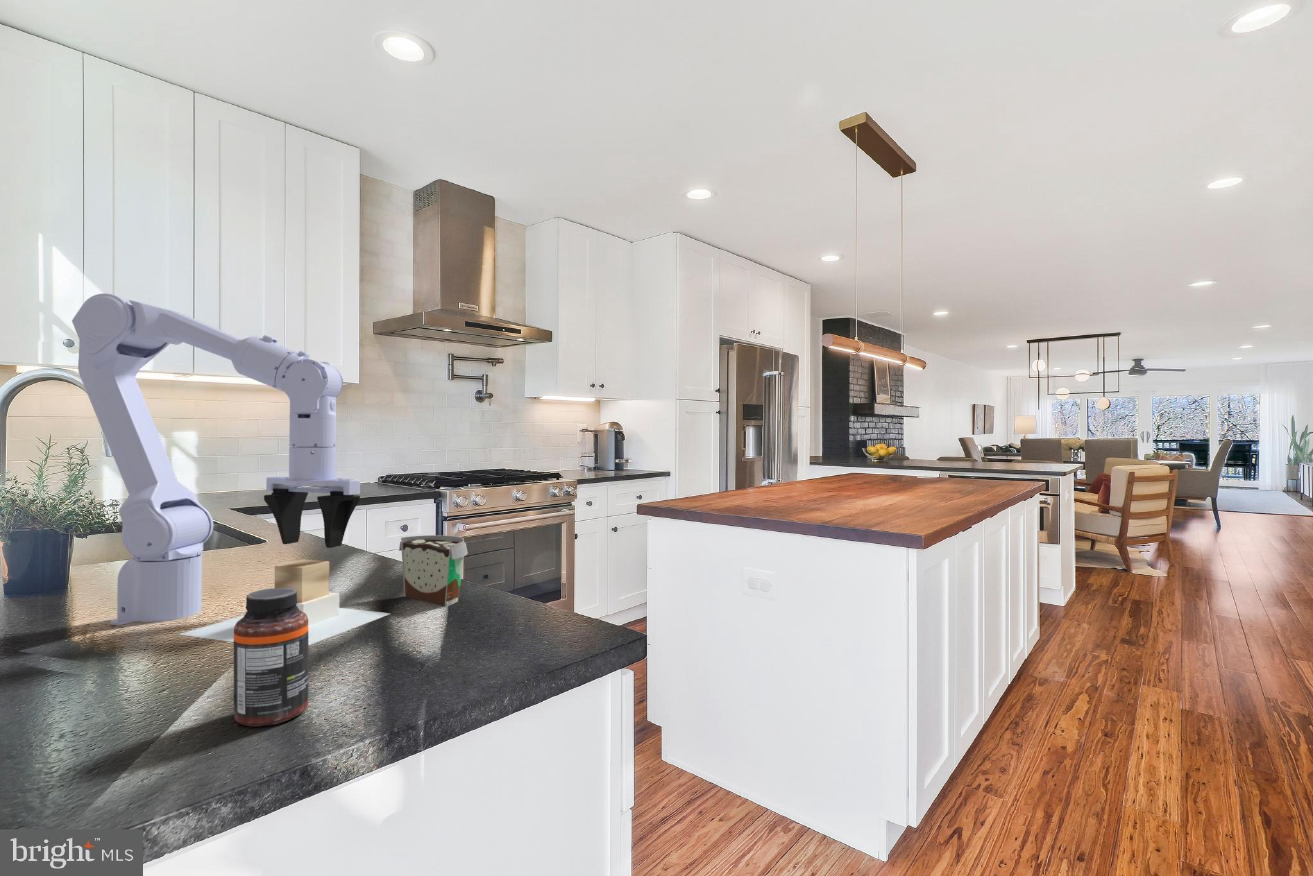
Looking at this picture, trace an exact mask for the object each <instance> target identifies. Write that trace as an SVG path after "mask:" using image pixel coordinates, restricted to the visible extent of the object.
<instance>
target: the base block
mask: <svg viewBox="0 0 1313 876" xmlns="http://www.w3.org/2000/svg"><path fill="white" fill-rule="evenodd" d="M296 605H297V607H298V608H299V610H300V611H303V612H304V613H305V614H306V615H307V617H308V626H310V625H313V624H315V623H318V622H321V621H324V620H327V619H330V618H333V617H336V616H338V615H339V608H340V593H339V592H331V591H329V595H326V596H323V597H320V598H316V599H313V600H310V601H306V602H303V603H299V602H298V603H297V604H296Z"/></svg>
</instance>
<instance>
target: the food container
mask: <svg viewBox="0 0 1313 876" xmlns="http://www.w3.org/2000/svg"><path fill="white" fill-rule="evenodd" d="M398 551H401V561H402V564H401V565H402V579H403V581H402V582H403V596H404V598H408V599H413V600H418V601H423V602H426V603H431V604H434V605H439V606H444V607H448V606H452V605H454V604H455V603H458V601H459V600H460V593H461V591H460V590H461V582H462V581H461V580H462V574H463V573H462V570H463V559H464V557H466V556H467V555H468V554H469V552H468V549H467V543H466V542H465V539H464V538H463V537H460V536H454V535H441V534H438V535H437V534H433V535H432V534H431V535H412V536H405V537H401V538H400V541H399V549H398Z"/></svg>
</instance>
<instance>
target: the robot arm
mask: <svg viewBox="0 0 1313 876" xmlns="http://www.w3.org/2000/svg"><path fill="white" fill-rule="evenodd" d="M71 322H72V325H73V327H74V330H75V332H76V335H77V337H78V340H79V344H78V360H77V362H78V363H77V370H78V374H79V377H80V379H81V382H82V384H83V387H84V389H85V393H86V394H87V397H88V399H89V401H90V403H91V406H92V408H93V411H94V413H95V415H96V418H97V421H98V423H99V425H100V428H101V431H102V433H103V436H104V437H105V439H106V442H107V445H108V447H109V450H110V452H111V455H112V457H113V459H114V462H115V464H116V466H117V469H118V472H119V474H120V476H121V479H122V481H123V484H124V486H125V488H126V490H127V492H128V496H127V498H126V499H125V501H124V502H123V503H122V505H121V506H120V508H119V509H118V513H119V516H120V519H121V523H122V528H121V540H122V541H121V542H122V544H123V545H124V547H125V549H126V551H128V552H129V553H130V554H131V555H132V558H130V559H128V560H127V561H126V562H124V564H123V565H122V566H121V568H120V570H119V571H118V572H119V573H118V575H117V583H116V585H117V586H116V587H117V596H116V597H117V598H116V600H117V602H116V603H117V605H116V606H117V607H116V609H117V610H116V611H117V612H116V616H117V617H116V618H114V619H111V620H109V624H110V625H113V626H120V625H125V624H129V623H133V622H141V623H159V622H169V621H175V620H181V619H184V618H188V617H193V616H195V615H196V616H197V615H198V614H200V613H201V612H202V607H203V606H202V605H203V604H202V602H203V600H202V598H203V597H202V596H203V595H202V592H203V589H202V586H203V584H202V583H203V582H202V581H203V551H204V543H206V542H207V541H208V540H209V539H210V537H211V536H212V533H213V531H214V520H213V519H214V518H213V517H212V514H211V513H210V511H208V509H206V508H205V507H204V506H203V505H202V504H201V503H200V502H199V501H198V499H197V496H196V494H195V492H193V491H192V490H191V489H189V488H188V487H186V485H183V484H182V483H181V482H180V481H178V478H177V476H176V474H175V471H174V469H173V465H172V464H171V461H170V459H169V456H168V454H167V452H166V449H165V447H164V444H163V442H162V440H161V437H160V435H159V432H158V429H157V427H156V424H155V423H154V420H153V418H152V415H151V413H150V410H149V408H148V406H147V405H148V404H147V402H146V400H145V398H144V395H143V393H142V390H141V388H140V385H139V384H138V381H137V378H136V376H137V374H138V372H139V371H140V370H141V369H142V368H143V367H144V366H145V365H147V364H148V363H150V361H152V360H153V359H154V358H155V357H156V356H158V355H159V354H160V353H162V352H163V351H164V350H165V349H166V348H167V347H169V346H170V345H171V344H172V345H181V344H182V343H184V344H187V345H190V346H191V347H195V348H198V349H201V350H203V351H206V352H208V353H211V354H213V355H216V356H219V357H222V358H225V359H227V360H230V361H231V362H232V366H233V368H234V370H235V371H236V372H237V374H239V375H241V376H244V377H246V378H249V379H251V380H253V381H257V382H259V383H262V384H263V385H265V386H268V387H272V388H273V389H276V390H279V391H280V392H284V393H285V394H286V396H287V397H288V399H289V433H288V434H289V444H288V445H289V450H288V454H289V455H288V476H271V477H266V479H265V480H266V487H265V488H266V490H265V491H266V492H271V494H264V495H263V501H264V502H265V503H266V504H267V506H268V508H269V510H270V511H271V513H272V515H273V517H274V520H275V523H276V525H277V528H278V532H279V535H280V538H281V539H280V540H281V543H282V545H290V544H294V543H295V544H296V543H299V541H300V538H301V537H300V536H301V527H302V526H301V524H302V514H303V510H304V506H305V503H306V500H307V497H308V495H309V493H314V494H329V495H318V496H317V497H316V498H317V499H316V500H317V503H318V505H319V507H320V510H321V511H320V512H321V515H322V519H323V530H324V531H323V533H324V544H325V547H326V549H330V548H336V547H341V546H342V544H343V540H344V536H345V533H346V529H347V527H348V523H349V520H350V519H351V516H352V515H353V512H354V511H355V509H356V507H357V505H358V504H359V502H361V495H360V494H361V480H360V479H349V478H341V477H340V478H339V477H336V475H337V474H336V472H337V471H336V468H337V467H336V465H337V463H336V462H337V457H336V456H337V453H336V452H337V447H336V446H337V398H338V397H339V396H340V395H341V393H342V391H343V388H344V379H343V376H342V374H341V372H340V371H339V370H338V369H337V368H336V367H335V366H333V365H331V364H330V363H329V362H326V361H318V360H314V359H310V356H311V354H310V353H308V352H305V351H303V350H299V351H298V352H297V351H295V350H292V349H289V348H288V347H285V346H282V345H280V344H278V342H279V341H278V339H277V338H275V337H272V336H270V335H265V334H264V335H263V336H262V337H261V336H258V335H252V336H250V337H246V338H243V339H241V338H239V337H237V336H234V335H233V334H229V333H227V332H225V331H224V330H220V329H218V328H216V327H215V326H211V325H210V324H207V323H206V322H202V321H201V320H198V319H196V318H194V317H191V316H189V315H187V314H185V313H180V312H177V311H173V310H171V309H167V308H162V307H160V306H155V305H152V304H148V303H143V302H139V301H135V300H132V299H125V298H122V297H121V296H118V295H115V294H112V293H97V294H94V295H92V296H90V297H88V298H87V299H86V300H84V302H83V304H82V305H81V307H80V308H79V309H78V311H77V313H76V314H75V315H74V317H73V318H72V320H71ZM305 487H306V488H305ZM307 487H309V488H307ZM311 487H319V488H311Z"/></svg>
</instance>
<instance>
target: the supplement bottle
mask: <svg viewBox="0 0 1313 876" xmlns="http://www.w3.org/2000/svg"><path fill="white" fill-rule="evenodd" d="M245 600H246V601H245V603H246V604H245V609H246V612H245V614H244V617H243V618H241V619H240V620H239V621H238V622H237V623H236V625H235V627H234V642H233V647H232V648H233V711H234V712H233V714H234V715H233V716H234V721H235V722H237V724H240V725H241V726H247V727H253V728H254V727H269V726H273V725H278V724H280V723H284V722H286V721H289V720H292V719H293V718H296V717H297V716H299V715H301V714H303V712H305V710H306V709H307V707H308V705H309V683H310V682H309V645H308V643H309V641H308V638H309V636H308V617H307V615H306V614H305V613H304V612H303V611H300V610H299V608H298V607H297V605H296V604H297V603H298V602H297V591H296V590H295V589H292V588H275V587H272V588H265V589H259V590H256V591H252V592H250V593H248V594H247V595H246V599H245Z"/></svg>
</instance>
